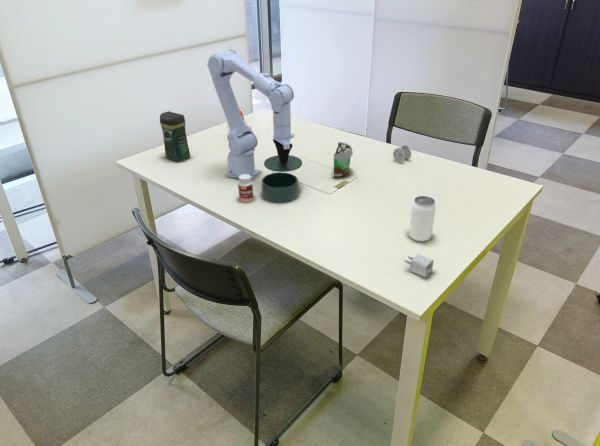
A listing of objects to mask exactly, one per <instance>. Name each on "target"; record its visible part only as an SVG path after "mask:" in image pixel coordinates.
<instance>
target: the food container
mask: <svg viewBox="0 0 600 446" xmlns="http://www.w3.org/2000/svg"><path fill="white" fill-rule="evenodd" d="M353 155H354V152H353V148H352V146H351V145H350V144H348V143H345V142H341V141H339V142H337V148H336V149H335V153H333V179H342V178H345V177H347V176H349V173H350V165H351V158H352V156H353Z"/></svg>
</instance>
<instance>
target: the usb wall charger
mask: <svg viewBox="0 0 600 446" xmlns="http://www.w3.org/2000/svg"><path fill="white" fill-rule="evenodd" d="M407 259H409V260H407ZM407 259H403V262H404V263H406V264H408V265H410V269H409V271H410V272H412V273H414V274H416V275H419V276H420V277H423V278H427V277H428V276H429V275H430V274H431V273H432V272H433V267H434V260H433V258H429V257H427V256H425V255H423V254H419V253H418V254H416V255H415V256H414V257H412V256H409V255H408V256H407ZM410 260H411V261H410Z"/></svg>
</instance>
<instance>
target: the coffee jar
mask: <svg viewBox="0 0 600 446" xmlns="http://www.w3.org/2000/svg"><path fill="white" fill-rule="evenodd" d="M159 124H160V127H161V130H162V136H163V144H164V151H165V152H164V154H165V158H166V159H168V160H169V161H174V162H183V161H187V160H188V159H189V158H190V157H191V153H190V148H189V143H188V137H187V132H186V119H185V115H184V114H182V113H177V112H173V111H170V110H169V111H165V112H162V113H161V114H159Z"/></svg>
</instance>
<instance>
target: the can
mask: <svg viewBox="0 0 600 446" xmlns="http://www.w3.org/2000/svg"><path fill="white" fill-rule="evenodd" d="M435 203H436V200H435V199H434V198H432V197H430V196H427V195H419V196H416V197H415V198H414V201H413V203H412V206H411V212H410V220H409V229H408V237H410V238H411V239H412V240H413V241H415V242H421V243H423V242H427V241H430V239H431V238H432V233H433V227H434V221H435V216H436V215H435V214H436V204H435Z"/></svg>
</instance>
